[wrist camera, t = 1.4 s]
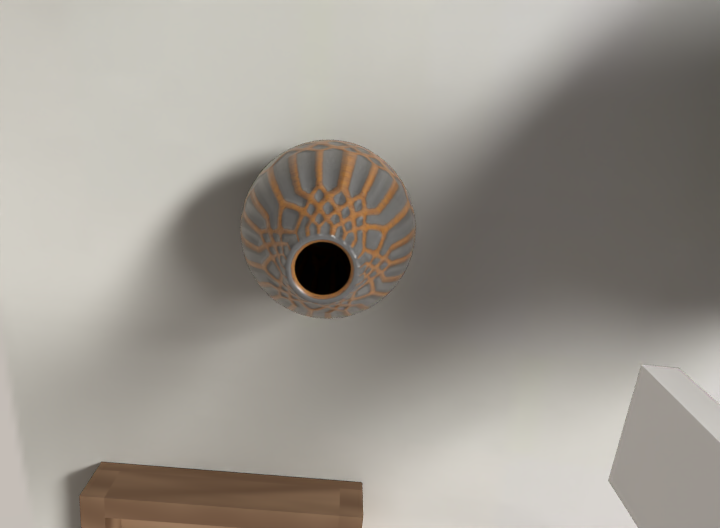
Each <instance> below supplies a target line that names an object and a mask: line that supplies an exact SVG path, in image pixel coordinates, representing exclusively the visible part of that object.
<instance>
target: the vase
mask: <svg viewBox="0 0 720 528" xmlns="http://www.w3.org/2000/svg"><path fill="white" fill-rule="evenodd" d="M240 231H241V242H242V248H243V252H244V256H245V259H246V261H247V264H248V266H249V269H250V271H251V273H252V274H253V276H254V278H255V279H256V281H257V282H258V284H259V285H260V286H261V287H262V289H263V290H264V291H265V292H266V293H267V294H268V295H269V296H270V297H271V298H273V299H274V300H275V301H276V302H278V303H279V304H281V305H282V306H284V307H286V308H287V309H289V310H291V311H294V312H296V313H299V314H302V315H305V316H309V317H315V318H328V319H330V318H341V317H346V316H350V315H354V314H357V313H359V312H362V311H364V310H366V309H368V308H370V307H371V306H373V305H375V304H376V303H378V302H379V301H380V300H382V299H383V298H384V297H385V296H386V295H387V294H388V293H389V292H390V291H391V290H392V289H393V288H394V287H395V285H396V284H397V283H398V282H399V280H400V279H401V277H402V276H403V274H404V272H405V270H406V268H407V266H408V264H409V261H410V259H411V256H412V252H413V248H414V242H415V233H416V223H415V215H414V210H413V206H412V202H411V199H410V197H409V194H408V192H407V190H406V188H405V186H404V184H403V182H402V181H401V179H400V178H399V176H398V175H397V174H396V172H395V171H394V170H393V169H392V168H391V167H390V166H389V165H388V164H387V163H386V162H385V161H384V160H383V159H382V158H380V157H379V156H378V155H376V154H374V153H373V152H371V151H370V150H368V149H366V148H364V147H361V146H359V145H356V144H353V143H350V142H345V141H339V140H318V141H312V142H307V143H304V144H301V145H298V146H295V147H293V148H291V149H289V150H287V151H285V152H284V153H282V154H280V155H279V156H278V157H276V158H275V159H274V160H273V161H271V162H270V163H269V164H268V165H267V166H266V167H265V168H264V169H263V170H262V171H261V173H260V174H259V175H258V177H257V178H256V179H255V181H254V183H253V184H252V186H251V188H250V190H249V192H248V194H247V197H246V199H245V202H244V206H243V210H242V216H241V227H240Z"/></svg>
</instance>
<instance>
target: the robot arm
mask: <svg viewBox="0 0 720 528" xmlns="http://www.w3.org/2000/svg"><path fill="white" fill-rule="evenodd" d="M608 481H609V483H610V484H611V486H612V487H613V489H614V490H615V492H616V494H617V495H618V497H619V498H620V500H621V501H622V503H623V505H624V506H625V508H626V509H627V511H628V512H629V514H630V516H631V517H632V519H633V520H634V522H635V523H636V525H637V527H638V528H720V404H719V403H718V402H717V401H716V400H714V399H713V398H712V397H711V396H710V395H709V394H708V393H707V392H705V391H704V390H703V389H702V388H701V387H700V386H699V385H698V384H696V383H695V382H694V381H693V380H692V379H691V378H690V377H689V376H688V375H686V374H685V373H684V372H683V371H682V370H681V369H680V368H674V367H663V366H652V365H641V368H640V371H639V375H638V378H637V382H636V385H635V389H634V392H633V395H632V399H631V402H630V406H629V409H628V413H627V416H626V420H625V423H624V427H623V430H622V434H621V437H620V441H619V444H618V448H617V451H616V455H615V458H614V462H613V465H612V469H611V472H610V476H609V479H608Z"/></svg>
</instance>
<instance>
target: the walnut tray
mask: <svg viewBox="0 0 720 528" xmlns="http://www.w3.org/2000/svg"><path fill="white" fill-rule="evenodd" d="M79 499H80V516H81V528H362V522H363V492H362V483H361V482H348V481H336V480H323V479H310V478H298V477H285V476H272V475H260V474H247V473H234V472H222V471H209V470H196V469H183V468H171V467H158V466H145V465H133V464H120V463H107V462H101V463H100V465H99V466H98V468H97V470H96V471H95V473H94V474H93V476H92V477H91V479H90V480H89V482H88V483H87V485H86V487H85V488H84V490H83V491H82V493H81V494H80V496H79Z"/></svg>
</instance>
